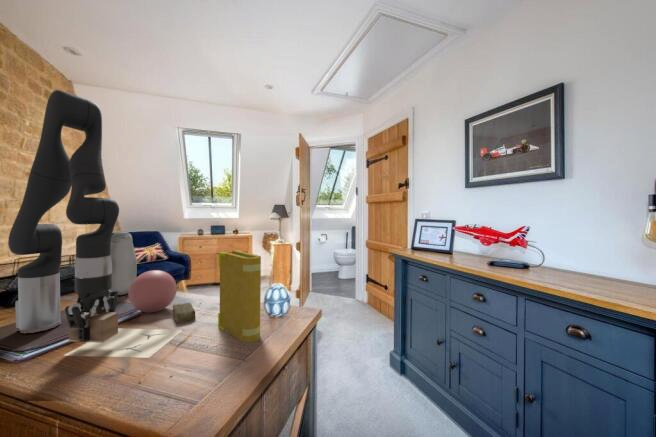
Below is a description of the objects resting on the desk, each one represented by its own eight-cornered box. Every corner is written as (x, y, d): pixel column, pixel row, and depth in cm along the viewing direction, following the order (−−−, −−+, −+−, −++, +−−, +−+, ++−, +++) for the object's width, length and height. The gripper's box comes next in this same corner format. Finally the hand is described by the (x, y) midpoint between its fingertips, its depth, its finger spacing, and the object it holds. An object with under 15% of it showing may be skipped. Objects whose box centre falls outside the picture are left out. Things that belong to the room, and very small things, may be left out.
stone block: (177, 329, 91) (177, 314, 91) (172, 317, 100) (172, 304, 100) (196, 325, 94) (196, 310, 94) (189, 314, 104) (189, 301, 103)
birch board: (63, 361, 71) (63, 355, 71) (112, 333, 87) (112, 328, 87) (149, 363, 71) (149, 357, 71) (182, 334, 87) (182, 330, 87)
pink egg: (162, 298, 119) (162, 263, 119) (183, 310, 107) (183, 270, 106) (118, 308, 107) (118, 268, 107) (137, 322, 95) (136, 278, 94)
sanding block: (68, 341, 72) (68, 318, 72) (86, 332, 77) (85, 311, 77) (103, 342, 72) (103, 319, 72) (118, 333, 77) (118, 312, 77)
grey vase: (115, 291, 128) (114, 230, 127) (140, 290, 130) (139, 230, 129) (103, 298, 118) (102, 232, 117) (130, 297, 121) (130, 232, 120)
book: (218, 327, 93) (218, 252, 92) (236, 321, 98) (237, 250, 97) (245, 344, 81) (246, 259, 80) (264, 337, 86) (265, 256, 85)
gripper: (102, 266, 81) (102, 324, 82) (52, 279, 67) (53, 349, 68) (127, 267, 81) (127, 325, 82) (83, 280, 67) (83, 350, 67)
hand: (93, 335), depth 75 cm, fingers closed on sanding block, 5 cm apart
